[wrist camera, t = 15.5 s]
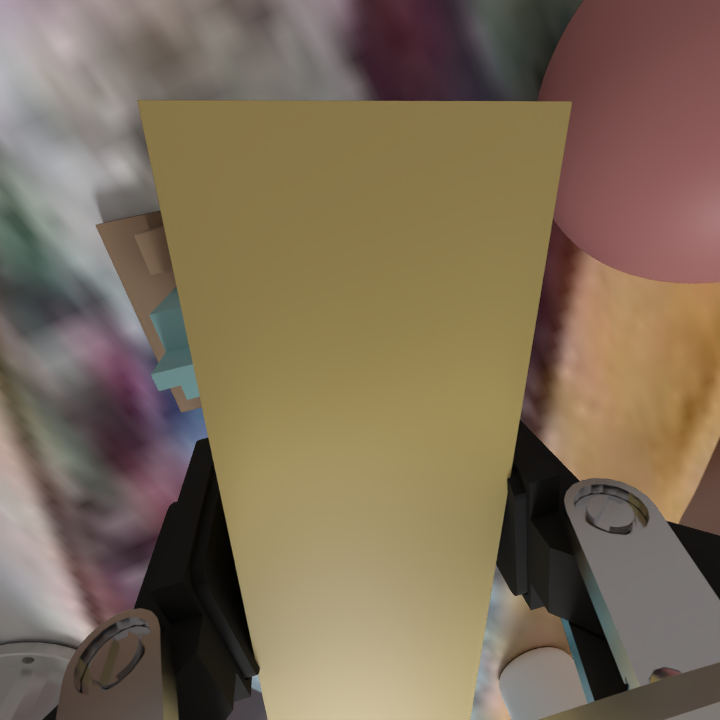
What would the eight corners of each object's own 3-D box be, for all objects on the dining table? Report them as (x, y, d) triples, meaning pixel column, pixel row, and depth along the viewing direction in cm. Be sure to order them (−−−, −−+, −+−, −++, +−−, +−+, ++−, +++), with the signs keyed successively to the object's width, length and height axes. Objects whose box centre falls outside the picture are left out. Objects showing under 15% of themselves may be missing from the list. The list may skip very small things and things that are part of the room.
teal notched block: (207, 352, 25) (175, 426, 18) (179, 283, 24) (131, 333, 16) (421, 299, 27) (476, 348, 19) (411, 228, 25) (469, 252, 17)
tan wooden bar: (283, 627, 13) (284, 796, 10) (207, 137, 7) (137, 100, 4) (417, 603, 14) (464, 752, 10) (443, 134, 8) (571, 101, 5)
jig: (184, 404, 28) (172, 434, 25) (103, 223, 23) (74, 230, 19) (463, 334, 29) (485, 352, 26) (447, 148, 24) (472, 144, 21)
